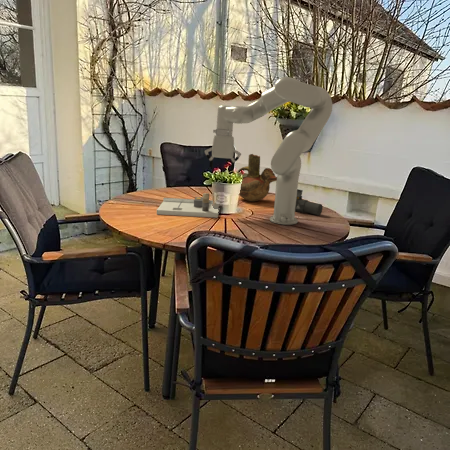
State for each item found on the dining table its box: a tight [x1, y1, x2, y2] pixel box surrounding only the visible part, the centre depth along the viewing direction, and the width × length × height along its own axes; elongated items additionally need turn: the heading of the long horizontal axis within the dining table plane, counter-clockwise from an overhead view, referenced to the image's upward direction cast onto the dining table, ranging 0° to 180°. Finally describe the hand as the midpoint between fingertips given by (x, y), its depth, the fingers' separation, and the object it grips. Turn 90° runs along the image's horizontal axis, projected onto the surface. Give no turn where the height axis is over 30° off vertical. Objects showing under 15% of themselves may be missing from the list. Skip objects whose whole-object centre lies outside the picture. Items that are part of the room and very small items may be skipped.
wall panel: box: [156, 197, 220, 218], centre depth 203 cm, size 24×28×4 cm
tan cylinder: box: [202, 192, 210, 211], centre depth 195 cm, size 3×3×8 cm
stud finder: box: [194, 196, 203, 207], centre depth 205 cm, size 8×6×3 cm
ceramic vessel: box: [237, 153, 277, 202], centre depth 227 cm, size 17×26×25 cm, turn 61°
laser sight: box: [295, 188, 323, 216], centre depth 212 cm, size 10×22×10 cm, turn 50°
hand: (221, 169), depth 201 cm, fingers open, 9 cm apart
